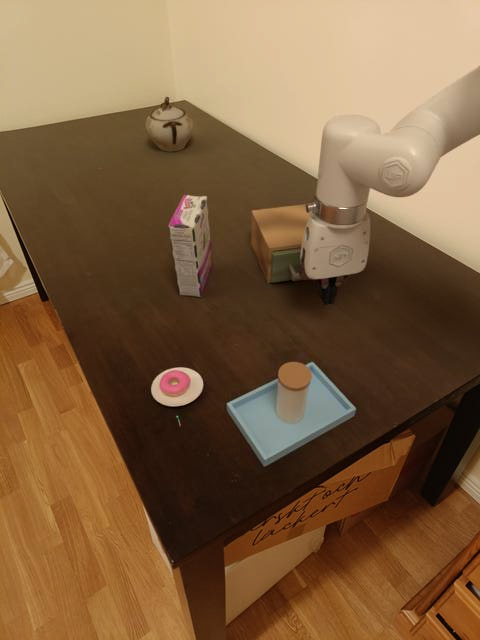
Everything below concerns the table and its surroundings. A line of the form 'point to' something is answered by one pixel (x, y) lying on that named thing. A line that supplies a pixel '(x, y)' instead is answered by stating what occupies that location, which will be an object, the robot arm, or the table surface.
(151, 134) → the sugar bowl
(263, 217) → the cabinet
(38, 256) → the table surface
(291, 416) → the spice pot
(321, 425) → the tray
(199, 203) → the candy bar box
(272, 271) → the drawer
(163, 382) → the donut
